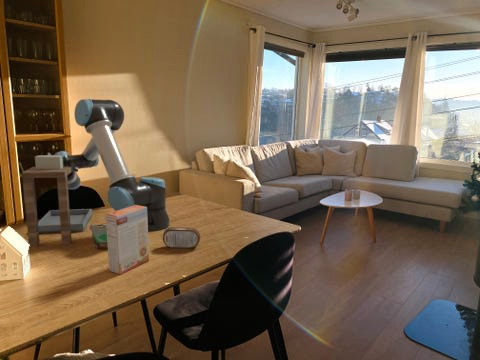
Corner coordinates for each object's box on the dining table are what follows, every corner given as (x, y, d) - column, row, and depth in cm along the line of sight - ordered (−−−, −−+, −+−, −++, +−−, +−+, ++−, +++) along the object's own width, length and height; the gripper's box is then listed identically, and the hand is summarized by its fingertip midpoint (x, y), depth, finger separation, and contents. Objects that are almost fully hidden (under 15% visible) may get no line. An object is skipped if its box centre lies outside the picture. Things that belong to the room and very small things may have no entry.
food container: (92, 253, 137) (90, 228, 135) (90, 247, 143) (89, 223, 141) (125, 248, 143) (124, 224, 141) (122, 243, 148) (121, 220, 146)
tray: (83, 231, 160) (83, 223, 160) (35, 233, 156) (34, 225, 155) (92, 215, 183) (91, 208, 182) (50, 217, 178) (49, 210, 178)
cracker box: (137, 257, 135) (136, 203, 131) (149, 261, 132) (148, 206, 128) (107, 271, 123) (104, 213, 119) (119, 275, 121) (117, 216, 116)
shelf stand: (69, 245, 145) (64, 172, 138) (28, 247, 141) (21, 172, 135) (77, 233, 158) (72, 166, 152) (39, 235, 154) (33, 166, 148)
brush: (60, 169, 144) (59, 156, 143) (35, 169, 142) (34, 156, 141) (69, 162, 160) (68, 151, 159) (47, 163, 158) (46, 151, 157)
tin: (200, 246, 148) (200, 226, 146) (199, 249, 145) (199, 229, 143) (163, 245, 147) (163, 226, 145) (162, 248, 144) (161, 228, 142)
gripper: (84, 181, 173) (73, 163, 152) (47, 181, 170) (31, 164, 148) (84, 166, 176) (74, 147, 154) (49, 166, 172) (33, 147, 150)
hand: (53, 155), depth 151 cm, fingers closed on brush, 3 cm apart
